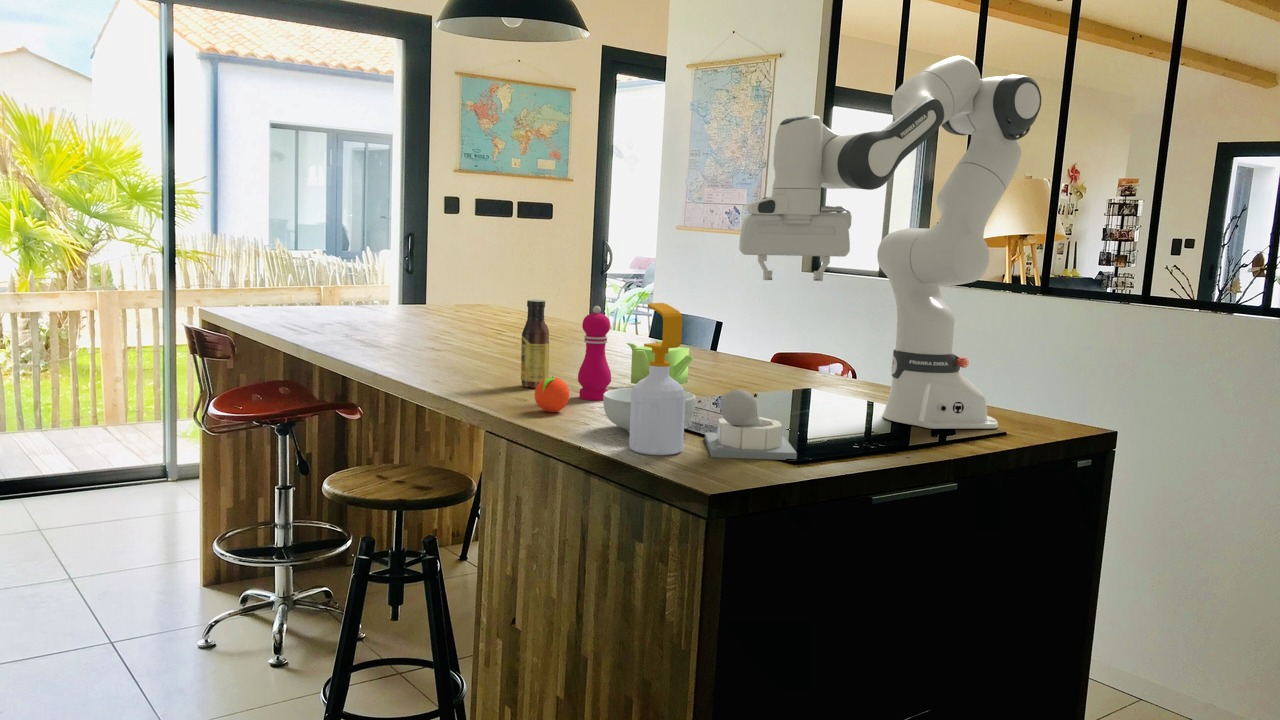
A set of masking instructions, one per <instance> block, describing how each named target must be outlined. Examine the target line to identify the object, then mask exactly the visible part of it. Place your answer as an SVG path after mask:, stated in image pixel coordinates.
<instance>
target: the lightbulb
mask: <svg viewBox="0 0 1280 720" xmlns="http://www.w3.org/2000/svg"><path fill="white" fill-rule="evenodd" d="M719 407H720V408H719V409H720V414H721V416H722V418H724V419H725V420H726V421H727V422H728V423H730V424H732V425H735V426H748V427H763V426H762V423H761V421H760V419H759V417H760V416H759V415H758V405H757V401H756V398H755V397H754V396H753V394H752V393H750V392H749V391H747V390H744V389H741V388H740V389H739V388H737V389H736V388H735V389H733V390H730V391H729V392H727V393H726V394H724V396H723V397H722V399H721V401H720V406H719Z"/></svg>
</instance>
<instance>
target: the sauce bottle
mask: <svg viewBox="0 0 1280 720" xmlns="http://www.w3.org/2000/svg"><path fill="white" fill-rule="evenodd" d="M526 303H527V304H526V307H527V318H526V322H525V325H524V328H523V330H522V332H521V344H520V345H521V349H520V350H521V351H520V353H521V355H520V356H521V357H520V379H521V380H520V381H521V385H522V387H523V386H525V387H524V388H528V387H531V388H530V389H536V387H537V385H538V384H539V383H540V382H541V381H542V380H544V379H545V378H549V367H550V366H549V363H550V359H549V358H550V356H549V355H550V341H549V340H550V332H549V331H550V330H549V327H548V325H547V324H546V323H545V307H546V300H544V299H527V301H526Z"/></svg>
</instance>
